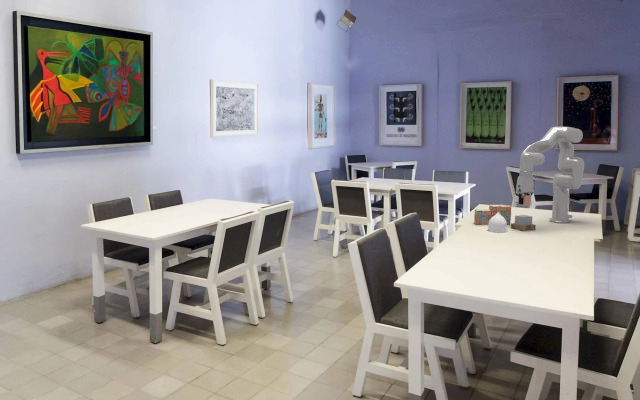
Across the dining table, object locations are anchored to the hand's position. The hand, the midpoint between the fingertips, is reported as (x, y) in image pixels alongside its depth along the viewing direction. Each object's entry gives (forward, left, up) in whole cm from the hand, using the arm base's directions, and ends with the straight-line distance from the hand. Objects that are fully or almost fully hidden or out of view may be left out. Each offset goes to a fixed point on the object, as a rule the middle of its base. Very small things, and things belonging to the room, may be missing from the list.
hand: (524, 203), depth 333 cm
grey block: (0, 0, -13) cm, 13 cm away
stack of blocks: (+6, -20, -16) cm, 26 cm away
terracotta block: (0, 0, -1) cm, 1 cm away
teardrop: (+18, -3, -16) cm, 24 cm away
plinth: (0, 0, -16) cm, 16 cm away
